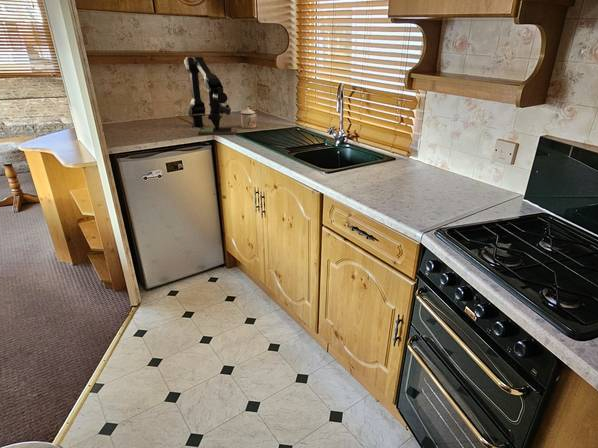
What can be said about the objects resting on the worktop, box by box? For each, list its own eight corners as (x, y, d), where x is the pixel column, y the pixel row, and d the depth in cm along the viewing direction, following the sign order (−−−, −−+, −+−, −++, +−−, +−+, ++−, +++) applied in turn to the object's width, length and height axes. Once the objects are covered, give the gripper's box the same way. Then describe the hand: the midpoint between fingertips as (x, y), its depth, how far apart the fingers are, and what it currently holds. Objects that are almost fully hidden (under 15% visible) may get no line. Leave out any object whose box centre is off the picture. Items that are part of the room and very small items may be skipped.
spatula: (200, 132, 227) (199, 128, 226) (201, 130, 233) (201, 126, 232) (230, 131, 230) (230, 128, 229) (231, 129, 235) (231, 126, 234)
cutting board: (200, 131, 236) (200, 129, 235) (235, 131, 239) (235, 128, 238) (198, 135, 228) (198, 132, 227) (234, 134, 230) (234, 131, 230)
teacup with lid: (249, 129, 244) (247, 109, 239) (238, 127, 248) (236, 107, 244) (262, 126, 253) (261, 106, 248) (251, 124, 258) (250, 105, 253)
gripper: (227, 103, 217) (230, 132, 224) (231, 98, 234) (233, 125, 240) (206, 103, 216) (209, 133, 222) (211, 98, 232) (214, 126, 239)
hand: (217, 129), depth 231 cm, fingers closed on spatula, 2 cm apart
